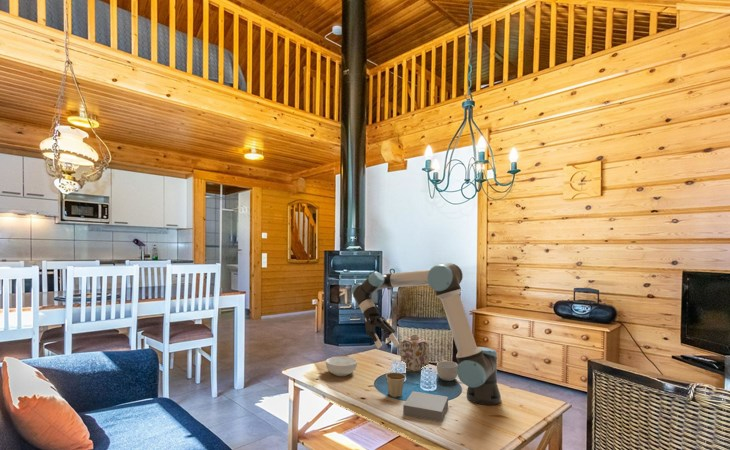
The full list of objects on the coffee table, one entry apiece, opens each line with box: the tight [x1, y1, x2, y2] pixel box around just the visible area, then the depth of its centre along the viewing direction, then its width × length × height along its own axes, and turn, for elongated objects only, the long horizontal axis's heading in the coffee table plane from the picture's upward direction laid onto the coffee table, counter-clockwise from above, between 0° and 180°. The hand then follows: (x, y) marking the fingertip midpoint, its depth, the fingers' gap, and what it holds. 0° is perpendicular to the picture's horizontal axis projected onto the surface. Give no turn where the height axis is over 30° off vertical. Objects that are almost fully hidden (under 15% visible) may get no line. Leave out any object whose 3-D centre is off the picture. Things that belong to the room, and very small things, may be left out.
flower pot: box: [385, 372, 407, 398], centre depth 180 cm, size 9×9×9 cm
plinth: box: [402, 390, 449, 423], centre depth 164 cm, size 16×16×4 cm
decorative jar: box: [400, 334, 430, 372], centre depth 220 cm, size 12×12×18 cm
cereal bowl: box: [325, 356, 358, 377], centre depth 207 cm, size 17×17×7 cm
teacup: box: [436, 359, 458, 382], centre depth 203 cm, size 14×11×8 cm
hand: (389, 346), depth 184 cm, fingers open, 13 cm apart
